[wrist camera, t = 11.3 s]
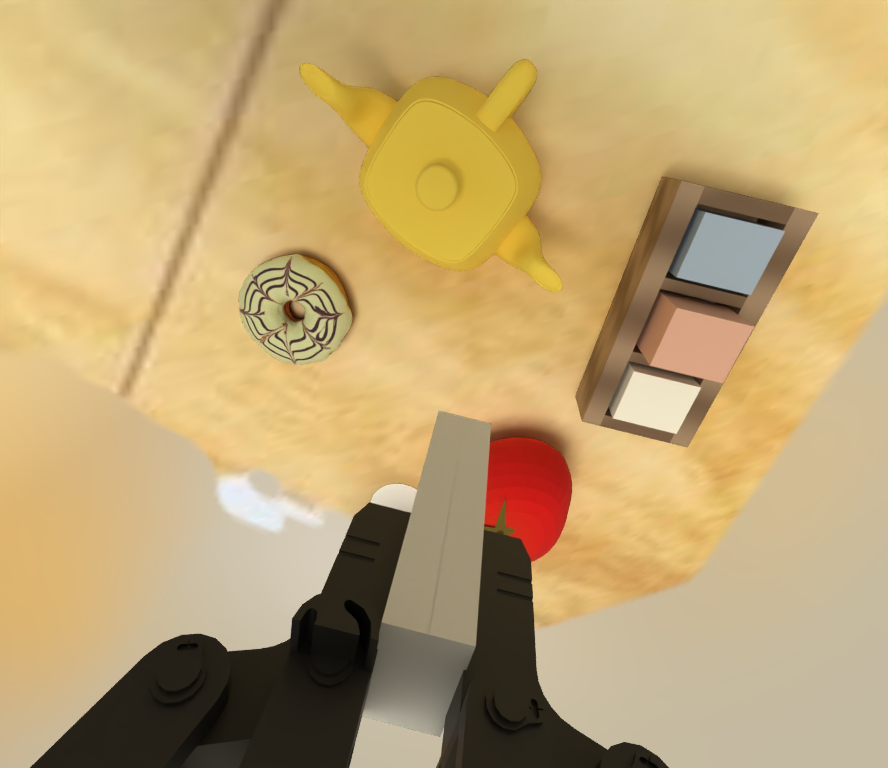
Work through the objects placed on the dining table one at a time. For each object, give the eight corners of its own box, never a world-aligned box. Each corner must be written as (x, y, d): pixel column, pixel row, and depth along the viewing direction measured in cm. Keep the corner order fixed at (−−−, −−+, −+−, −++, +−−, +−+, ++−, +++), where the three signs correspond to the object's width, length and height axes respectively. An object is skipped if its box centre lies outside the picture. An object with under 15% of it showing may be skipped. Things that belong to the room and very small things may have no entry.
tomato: (594, 469, 52) (614, 547, 41) (500, 527, 57) (498, 609, 47) (520, 394, 49) (523, 459, 38) (429, 463, 54) (410, 536, 44)
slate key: (682, 204, 38) (705, 212, 33) (752, 221, 38) (785, 231, 33) (657, 262, 40) (676, 277, 36) (724, 278, 40) (750, 295, 36)
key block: (661, 176, 38) (681, 180, 34) (782, 205, 38) (818, 213, 33) (575, 396, 48) (582, 421, 43) (671, 419, 48) (687, 447, 43)
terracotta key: (657, 289, 39) (676, 307, 34) (726, 306, 39) (754, 326, 34) (634, 341, 41) (649, 365, 36) (699, 357, 41) (722, 383, 36)
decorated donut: (376, 310, 47) (366, 323, 43) (309, 371, 51) (295, 387, 47) (298, 228, 44) (281, 235, 41) (233, 300, 48) (213, 311, 45)
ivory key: (621, 348, 44) (633, 371, 39) (681, 363, 44) (701, 387, 39) (602, 392, 46) (612, 418, 42) (660, 406, 46) (676, 434, 42)
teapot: (627, 173, 38) (666, 182, 29) (502, 312, 45) (499, 357, 35) (414, -31, 34) (377, -100, 25) (310, 155, 41) (249, 158, 31)
